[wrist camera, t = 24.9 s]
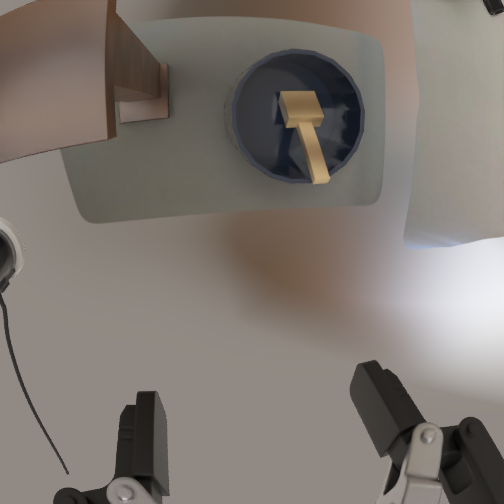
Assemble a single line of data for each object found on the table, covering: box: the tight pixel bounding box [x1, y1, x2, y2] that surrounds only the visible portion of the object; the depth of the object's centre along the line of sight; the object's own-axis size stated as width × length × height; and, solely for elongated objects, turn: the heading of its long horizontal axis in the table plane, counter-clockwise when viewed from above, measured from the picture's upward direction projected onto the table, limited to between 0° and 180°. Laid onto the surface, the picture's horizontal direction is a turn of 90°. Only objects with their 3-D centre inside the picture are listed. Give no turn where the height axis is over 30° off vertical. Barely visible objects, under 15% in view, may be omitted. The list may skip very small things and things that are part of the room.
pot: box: [225, 49, 365, 184], centre depth 38 cm, size 17×17×9 cm
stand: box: [0, 0, 169, 163], centre depth 23 cm, size 8×7×32 cm
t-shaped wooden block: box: [278, 91, 330, 184], centre depth 38 cm, size 14×5×2 cm
